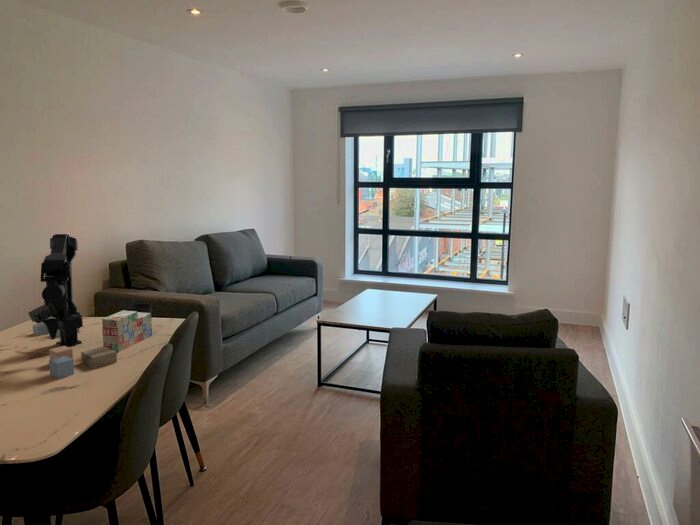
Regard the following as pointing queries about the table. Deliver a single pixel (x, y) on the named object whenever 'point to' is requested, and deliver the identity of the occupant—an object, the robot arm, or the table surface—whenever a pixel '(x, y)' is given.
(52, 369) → the slate cube
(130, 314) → the stack of blocks
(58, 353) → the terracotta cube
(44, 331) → the pale blue stepped block
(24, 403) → the table surface
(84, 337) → the table surface
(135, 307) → the pen holder
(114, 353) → the taupe faceted block
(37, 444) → the table surface
